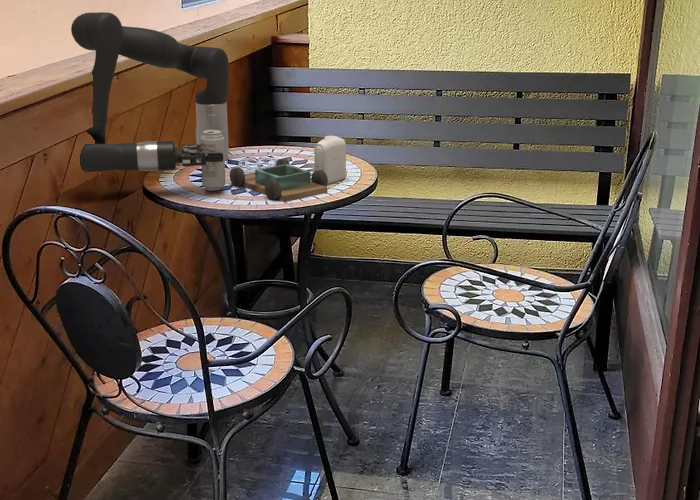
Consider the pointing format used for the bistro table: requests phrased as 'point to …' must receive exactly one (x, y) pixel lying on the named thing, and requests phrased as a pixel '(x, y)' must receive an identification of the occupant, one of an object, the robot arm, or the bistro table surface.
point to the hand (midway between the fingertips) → (222, 154)
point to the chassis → (282, 181)
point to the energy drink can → (212, 170)
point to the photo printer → (331, 158)
